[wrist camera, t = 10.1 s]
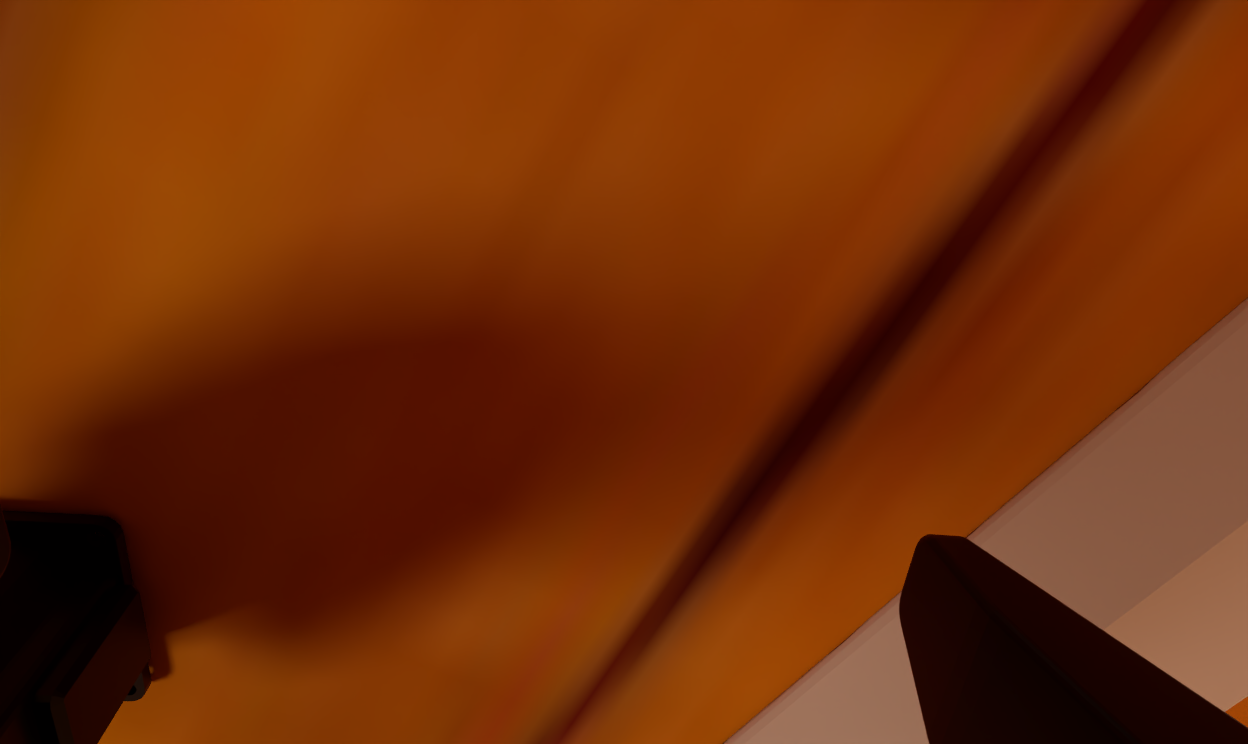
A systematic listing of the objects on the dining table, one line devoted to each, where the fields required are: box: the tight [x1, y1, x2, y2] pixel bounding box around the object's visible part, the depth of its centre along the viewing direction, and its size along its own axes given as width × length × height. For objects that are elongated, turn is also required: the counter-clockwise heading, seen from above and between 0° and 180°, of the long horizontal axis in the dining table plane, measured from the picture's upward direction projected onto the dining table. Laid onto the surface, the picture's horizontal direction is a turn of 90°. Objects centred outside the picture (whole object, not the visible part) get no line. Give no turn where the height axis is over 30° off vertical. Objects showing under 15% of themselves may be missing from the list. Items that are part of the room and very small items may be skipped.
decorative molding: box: [723, 298, 1248, 744], centre depth 27 cm, size 34×5×10 cm
